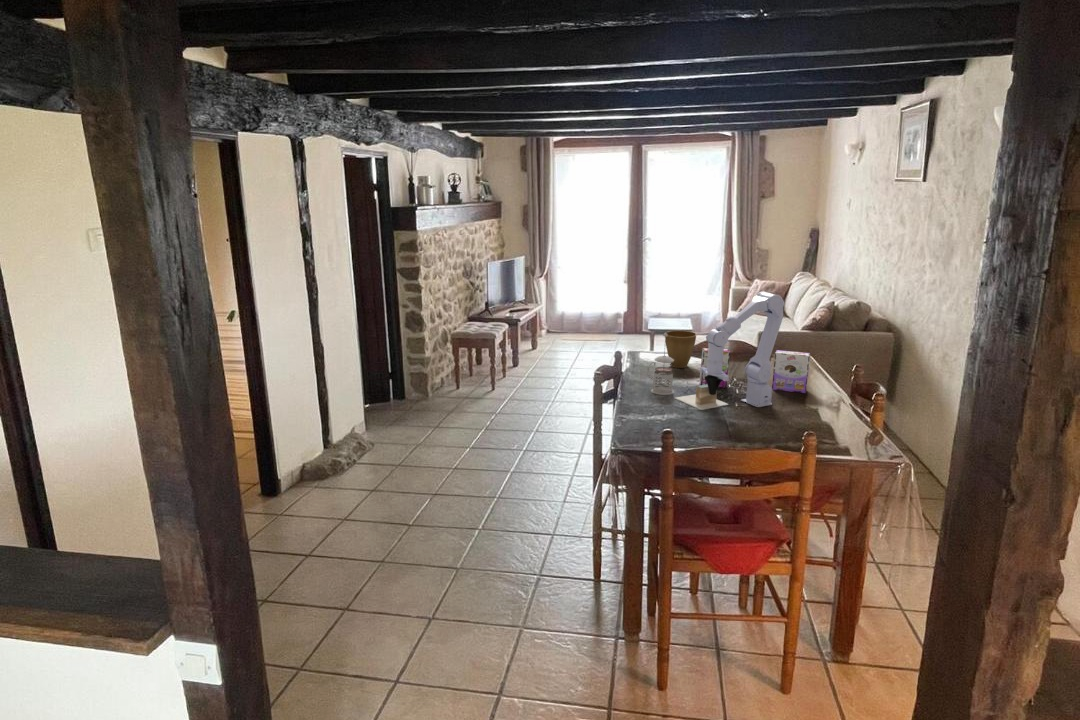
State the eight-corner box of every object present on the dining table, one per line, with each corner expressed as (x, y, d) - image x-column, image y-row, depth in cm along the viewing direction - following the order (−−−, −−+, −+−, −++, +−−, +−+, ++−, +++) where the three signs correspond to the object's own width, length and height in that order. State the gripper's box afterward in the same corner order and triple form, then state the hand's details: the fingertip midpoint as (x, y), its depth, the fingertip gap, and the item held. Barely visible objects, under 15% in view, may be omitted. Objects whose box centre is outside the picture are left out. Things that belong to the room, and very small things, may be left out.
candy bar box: (700, 387, 288) (703, 350, 284) (699, 384, 293) (701, 347, 289) (727, 388, 287) (730, 351, 283) (725, 385, 292) (728, 348, 288)
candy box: (806, 390, 286) (811, 352, 282) (805, 393, 281) (810, 355, 277) (772, 386, 291) (776, 349, 287) (771, 389, 286) (774, 352, 282)
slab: (716, 402, 267) (717, 385, 266) (700, 404, 264) (701, 387, 262) (711, 400, 270) (712, 383, 268) (695, 402, 266) (696, 385, 265)
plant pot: (676, 360, 333) (678, 329, 329) (700, 366, 322) (703, 334, 318) (656, 365, 324) (658, 332, 320) (680, 371, 313) (683, 338, 309)
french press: (672, 395, 276) (676, 336, 270) (644, 393, 280) (647, 334, 274) (675, 389, 285) (679, 331, 279) (648, 386, 289) (651, 329, 283)
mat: (728, 405, 265) (728, 404, 265) (700, 409, 259) (700, 409, 259) (701, 394, 279) (701, 393, 279) (674, 398, 273) (674, 397, 273)
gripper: (694, 357, 263) (692, 390, 267) (719, 366, 251) (717, 400, 254) (708, 355, 267) (706, 388, 270) (734, 364, 254) (731, 398, 257)
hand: (712, 394), depth 262 cm, fingers closed
